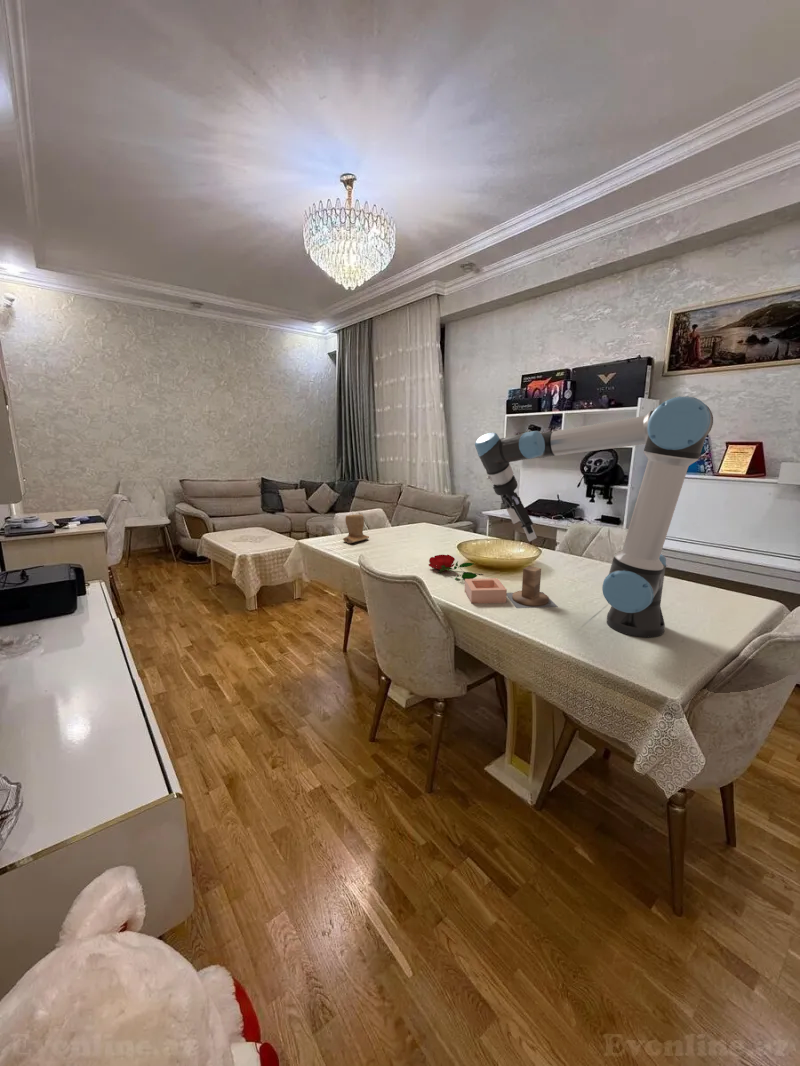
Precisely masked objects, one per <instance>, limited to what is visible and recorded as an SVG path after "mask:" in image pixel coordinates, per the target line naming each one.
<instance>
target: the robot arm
mask: <svg viewBox="0 0 800 1066" xmlns="http://www.w3.org/2000/svg"><path fill="white" fill-rule="evenodd" d="M713 425H714V414H713V412H712V410H711V408H710V407H709V406H708V405H707V404H705V402H703V401H702V400H700V399H698V398H696V397H692V396H689V395H687V396H676V397H675V396H674V397H672V398H669V399H667V400H665V401H663V402H662V403H661V404H659V405H657V406H656V408H655V409H654V410H650V411H648V413H647V414H646V415H643V416H635V417H629V418H625V419H618V420H617V419H616V420H611V421H606V422H605V421H604V422H599V423H595V424H589V425H584V426H582V425H581V426H576V427H571V428H565V429H559V430H553V431H547V432H546V431H545V432H540V431H539V430H534V431H526V432H525V431H524V433H519V434H514V435H512V436H508V437H501V438H500V437H499V435H498V433H496V432H495V431H494V432H492V431H491V432H488V433H485V434H482V435H481V436H479V437H478V438H477V439H476V440H475V443H474V447H475V450H476V452H477V456H478V457H479V459H480V461H481V464H482V466H483V467H484V470H485V472H486V474H487V475H486V480H489V481H490V483H491V485H492V489H493V491H494V493H495V494H496V495H498V496H500V499H501V502H502V504H503V505H504V508H506V511H507V513H508V515H509V518H510V520H511V523H512V524H513V525H515V524H517V523H518V522H521V523H520V524H522V525H521V528H522V529H523V530H524V531H523V532H524V533H525V535H526V538H527V540H528V542H532V541H533V540H536V539H537V538H538V537H537V535H536V532H535V530H534V527H533V524H534V523H533V521H532V519H531V517H530V515H529V514H528V512H527V510H526V508H525V505H524V504H523V503H522V500H521V497H519V495H518V494H517V492H515V491H516V489H517V488H518V482H517V478H516V477H515V475H514V471H513V469H512V467H511V463H512V462H518V461H525V460H531V459H545V458H548V457H555V456H563V455H570V454H572V455H573V454H577V453H586V452H594V451H595V452H596V451H600V450H602V451H603V450H609V449H617V448H624V447H625V448H626V447H631V446H633V447H634V446H639V445H640V446H643V445H644V448H643V453H644V455H645V457H646V458H647V462H646V467H645V471H644V473H643V477H642V481H641V484H640V487H639V491H638V495H637V498H636V501H635V505H634V508H633V512H632V516H631V519H630V523H629V525H628V528H627V529H628V530H627V532H626V535H625V538H624V539H625V540H624V543H623V547H622V549H621V550H619V551H617V552H616V553H615V554H614V555H613V559H612V561H611V565H610V568H609V572H608V575H607V576H605V578H604V579H603V583H602V596H603V598H604V599H605V600H606V602H607V603H608V604H609V605H610V606H611V607H610V609H609V611H608V612H607V615H606V624H607V625H608V626H609V628H611V629H612V630H615V631H617V632H619V633H622V634H625V635H629V636H632V637H639V638H656V637H661V636H662V635H664V633H665V629H666V628H665V626H666V625H665V624H666V623H665V618H664V615H663V610H662V608H661V602H662V595H663V589H664V581H665V572H666V568H667V557H666V556H665V555H663V553H662V552H663V551H662V550H663V547H664V544H665V541H666V538H667V535H668V532H669V529H670V525H671V522H672V519H673V517H674V513H675V510H676V508H677V507H676V506H677V503H678V501H679V497H680V494H681V491H682V488H683V485H684V482H685V478H686V476H687V471H688V470H689V466H691V465H693V464H694V463H695V462H697V461H699V459H700V456H701V453H702V449H703V447H704V445H705V441H706V437H707V436H708V435H709V433H710V432H711V430H712V428H713Z"/></svg>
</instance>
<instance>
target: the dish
mask: <svg viewBox="0 0 800 1066" xmlns="http://www.w3.org/2000/svg"><path fill="white" fill-rule="evenodd" d="M507 591H508V589H507V588H506V587H505V585H504V584H502V582H501V581H500V580H499V578H497V577H495V578H494V577H492V578H490V577H489V578H486V577H485V578H473V579H464V593H465V595H466V597H467V599H468V601H469V602H470V604H502V603H504V604H505V603H507V593H508V592H507Z"/></svg>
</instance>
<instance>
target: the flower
mask: <svg viewBox="0 0 800 1066" xmlns="http://www.w3.org/2000/svg"><path fill="white" fill-rule="evenodd" d="M455 561H456V559H455V557H453V556H452V555H450V554H438V555H434V556H430V558H429V559H428V562H429V563H428V567H431V568H432V569H435V570H439V572H438V574H441V573H442V572H444V571H445V570H446V571H448V572H454V573H461V574H460V575H459V574H458V575H456V577H455V578H454V580H455V581H458V578H459V577H461V579H463V580H465V579H476V578H477V577H478V575H479V576H484V573H477V572H475V573H474V572H471V571H464V570H463V569H462V568H468V567H471V566H473V565H474V564H475V563H474V562H464V563H461V564H459V565H458V562H459V561H456V563H454V562H455ZM456 569H460V570H461V571H458V570H456Z"/></svg>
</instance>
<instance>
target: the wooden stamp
mask: <svg viewBox="0 0 800 1066" xmlns="http://www.w3.org/2000/svg"><path fill="white" fill-rule="evenodd" d="M345 524H346V527H347V532H348V535H347V536H346V537H344V538H342V540H343V541H344V542H345V543H346V542H347V544H353V543H359V542H360V541H365V540H367V539H369V538H370V536H368V535H366V534H364V533H363V531H364V526H365V518H364V515H363V514H361V513H360V514H355V513H354V514H347V515H345Z"/></svg>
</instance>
